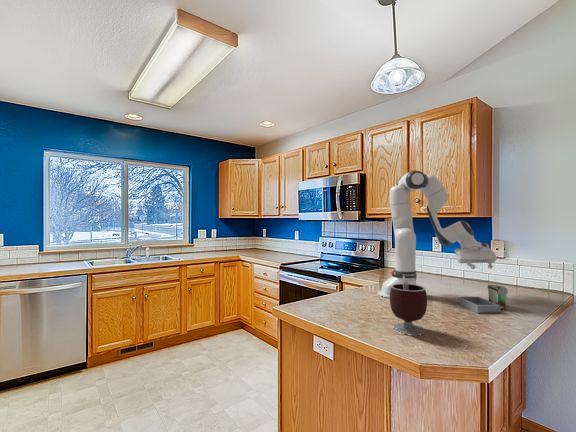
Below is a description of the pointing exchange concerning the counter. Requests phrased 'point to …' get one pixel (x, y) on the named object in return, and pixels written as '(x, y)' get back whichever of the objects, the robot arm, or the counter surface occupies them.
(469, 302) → the tray
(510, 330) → the counter surface
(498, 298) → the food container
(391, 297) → the mate gourd
